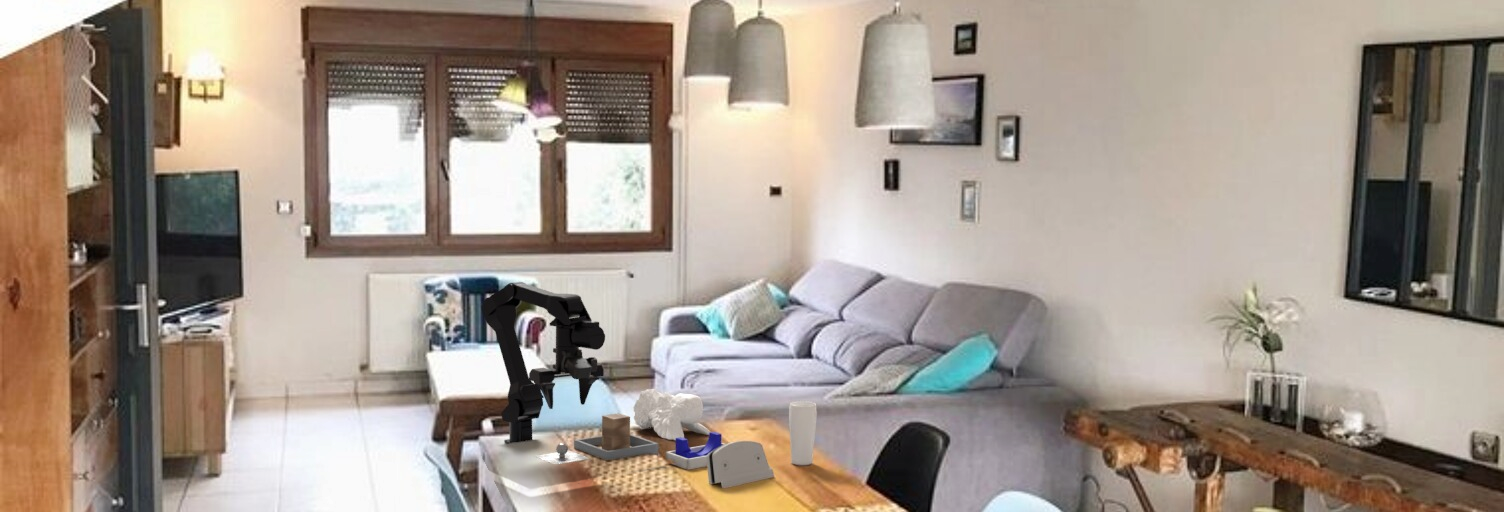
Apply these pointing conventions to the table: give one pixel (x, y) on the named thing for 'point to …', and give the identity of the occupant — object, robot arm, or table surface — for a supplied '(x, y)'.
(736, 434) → the table surface
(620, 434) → the wooden block
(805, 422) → the drinking glass
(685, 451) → the cable clip
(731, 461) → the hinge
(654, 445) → the tray
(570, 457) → the stud plate
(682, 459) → the clip organiser
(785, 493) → the table surface
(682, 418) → the cherub figurine
